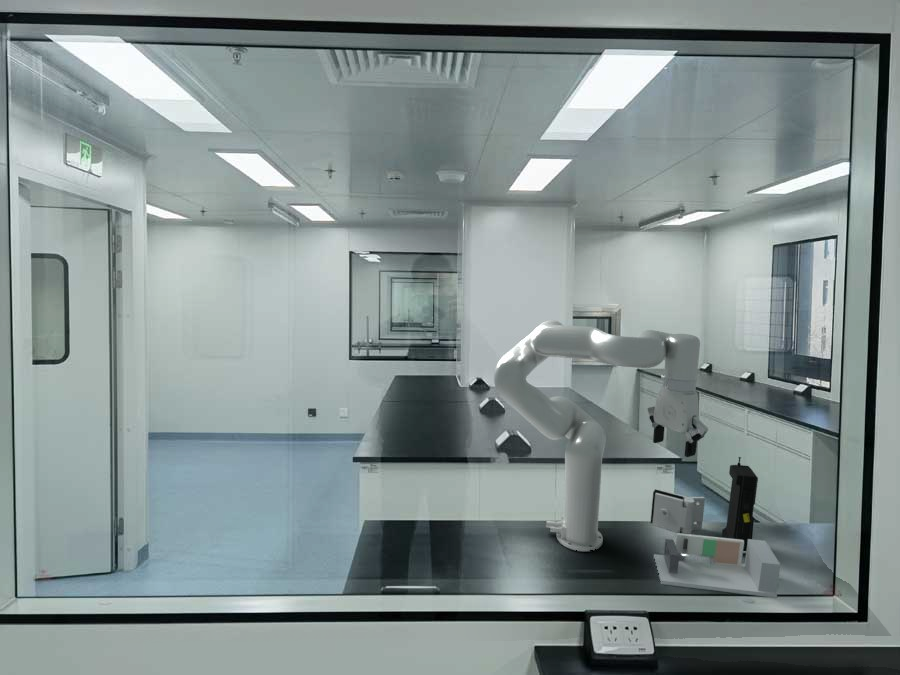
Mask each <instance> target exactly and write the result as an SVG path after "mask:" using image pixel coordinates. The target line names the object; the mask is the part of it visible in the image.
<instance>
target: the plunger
mask: <svg viewBox="0 0 900 675" xmlns="http://www.w3.org/2000/svg"><path fill="white" fill-rule="evenodd" d="M675 544H676V541H675V540H674V539H671V538H665V540H664V549H663V555H664V559H665V562H666V565H667V569H668V572H669V573H675V574H677V573H678V563H679V561H683V562H692V563H701V564H710V565H714V564H715V559H714V556H706V555H697V554H689V553H688V550H687V545H688V539H685V538H684V545H683V553H678V551H677V548H676V545H675Z"/></svg>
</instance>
